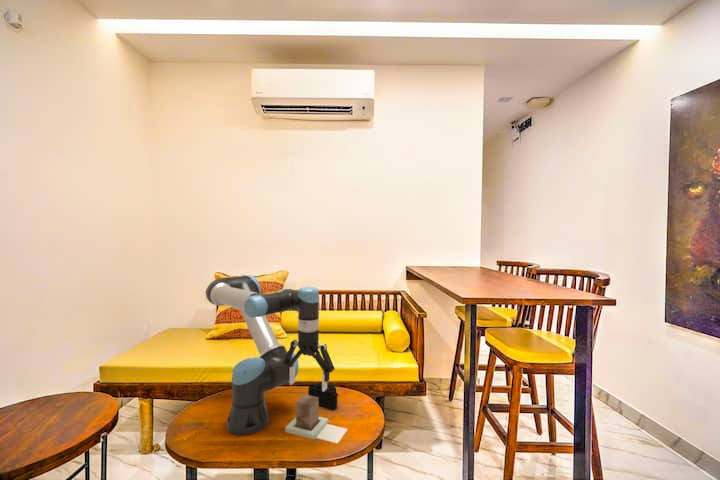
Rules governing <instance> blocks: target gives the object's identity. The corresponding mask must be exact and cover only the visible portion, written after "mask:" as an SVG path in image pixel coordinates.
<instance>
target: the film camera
mask: <svg viewBox="0 0 720 480" xmlns="http://www.w3.org/2000/svg"><path fill="white" fill-rule="evenodd" d="M307 390H308V391H307V392H308V394H307V395H310V396H315V397H319V407H320V408H324V409H325V410H326V409H327V410H329V411H335V410H337V408H338V397H339V393H338V392H337V388H336V386H335V385H334V384H333V383H330V382H329V383H327V389H326V390H325V391H324V392H323V391H322V381H321V382H318V383H316V384H315V383H312V382H311V383H310V384H309V385H308V388H307Z"/></svg>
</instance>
